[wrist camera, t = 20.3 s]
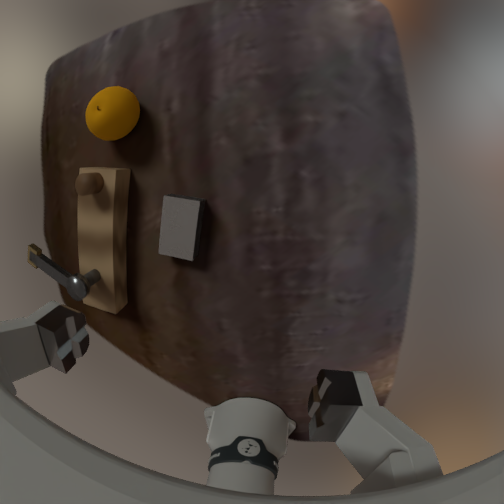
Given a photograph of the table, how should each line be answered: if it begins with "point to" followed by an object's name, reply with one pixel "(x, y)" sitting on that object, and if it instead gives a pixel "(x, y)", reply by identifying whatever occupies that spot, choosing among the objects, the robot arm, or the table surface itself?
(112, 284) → the plane body
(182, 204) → the lever cap
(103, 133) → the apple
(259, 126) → the table surface
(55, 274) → the lever
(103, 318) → the table surface
